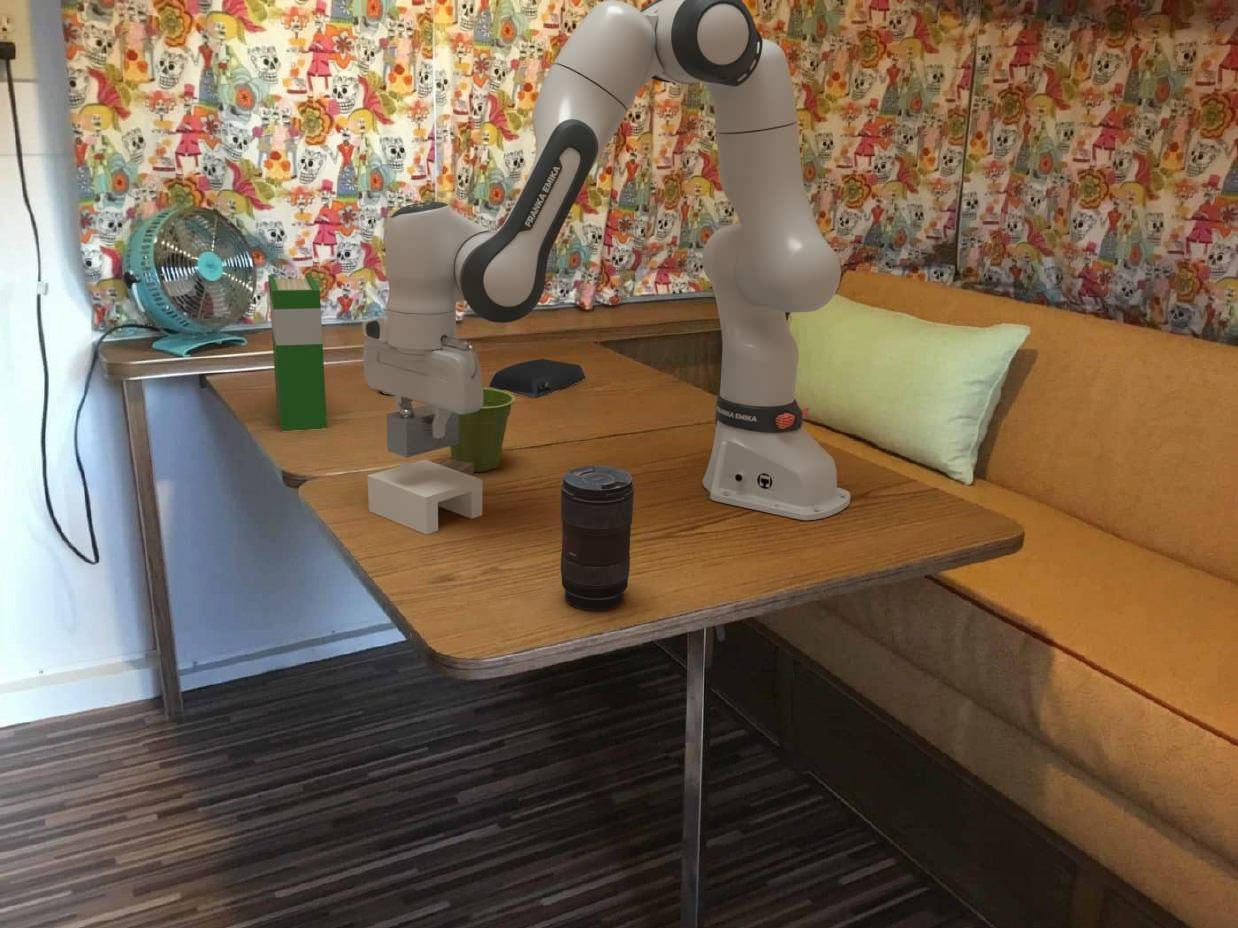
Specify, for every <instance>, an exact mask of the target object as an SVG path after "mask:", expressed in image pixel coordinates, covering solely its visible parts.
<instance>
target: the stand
mask: <svg viewBox="0 0 1238 928" xmlns="http://www.w3.org/2000/svg"><path fill="white" fill-rule="evenodd" d="M473 476H474V475H473ZM473 476H471V475H468V474H465V473H462V472H459V471H456V470H453V469H450V468H448V467H445V466H442V465H441V464H438V463H436V462H433V461H430V460H427V459H421V460H418V461H414V462H411V463H407V464H403V465H400V466H396V467H393V468H390V469H386V470H381V471H377V472H375V473H372V474H368V475H367V492H368V493H367V496H368V511H369V512H371V513H373V514H376V515H378V516H380V517H382V518H385V519H388V520H390V521H392V522H395V523H397V524H400V525H401V526H404V527H406V528H410V529H412V530H414V531H417V532H419V533H421V534H424V535H430V534H433V533H435V532H438V531H439V507H440V508H442V509H444V510H448V511H450V512H453V513H456V514H458V515H460V516H463V517H466V518H469V519H476V518H479V517H481V516H483V479H482V478H478V477H476V476H474V477H473Z"/></svg>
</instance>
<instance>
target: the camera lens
mask: <svg viewBox="0 0 1238 928" xmlns="http://www.w3.org/2000/svg"><path fill="white" fill-rule="evenodd" d="M562 480H563V481H562V483H561V489H560V516H561V518H560V520H561V523H562V524H561V525H562V526H561V528H562V529H561V530H562V533H561V553H560V575H561V586H562V587H563V589H564V596H565V597H564V598H565V600H566V601H567V603H568V604H570V605H571V606H573V607H575V608H579V609H582V610H587V611H606V610H611V609H613V608H616V607H618V606H620V605H621V604H622V602H623V601H624V593H625V591H626V590H627V588H628V584H629V582H628V581H629V576H630V567H631V566H630V564H631V554H630V552H631V551H630V550H631V549H630V548H631V532H632V531H631V527H632V523H633V517H634V516H633V514H634V511H633V510H634V494H635V493H634V492H635V488H634V484H633V478H632V475H631V474H630V473H629V472H627V471H625V470H624V469H622V468H618V467H614V466H607V465H587V466H586V465H585V466H579V467H575V468H573V469H571V470H568V471H567V472H565V473H564V475H563V479H562Z"/></svg>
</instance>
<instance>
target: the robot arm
mask: <svg viewBox="0 0 1238 928" xmlns="http://www.w3.org/2000/svg"><path fill="white" fill-rule="evenodd" d="M787 59H788V58H787V56H786V54H785V52H784V49H783V48H782V47H781V46H780V45H779V44H778V43H776V42H774V41H772V40H770V39H767V38H763V37H762V35H761V34H760V32H759V31H758V28H756V23H755V20H754V18H753V15H752V14H751V12H750V10H749V8H748V6H747V5H746V4H745V3H744V2H743V1H742V0H655V1H653V2H651V3H650V4H648V5H646V6H645V7H644V8H641V9H638V8H636V7H635V5H634V6H633V5H631V4H630V3H627V2H625V1H621V0H603V1H600V2H599V3H597V4H596V5H595V6H593V7H592V8H591V9H590V11H589V12H588V13H587V15H585V16H584V17H583V19H582V20H581V22H579V24H578V25H577V26H576V28H575V29H574V30H573V32H572V33H571V35H570V36H569V38H568V39H567V40H566V42H565V43H564V45H563V47H562V48H561V49H560V51H559V53H558V55H557V56H556V58H555V60H554V62H553V63H552V65H551V67H550V68H549V70H548V72H547V74H546V76H545V78H544V80H543V82H542V84H541V86H540V90H539V91H538V92H539V93H538V95H537V97H536V100H535V103H534V107H533V110H532V112H531V121H532V128H533V131H534V136H535V137H534V138H535V156H534V159H533V163H532V167H531V169H530V171H529V175H528V176H527V178H526V180H525V182H524V184H523V186H522V188H521V190H520V191H519V194H518V196H517V198H516V200H515V201H514V204H513V205H512V208H511V209H510V211H509V213H508V215H507V217H506V219H505V221H504V223H503V224H502V226H501V227H500V228H499V229H498V230H496V229H493V228H489V227H487V226H484V225H482V224H480V223H477V222H475V221H473V220H471V219H470V218H468V217H466V216H464V215H462V214H460V213H459V212H457V210H455V209H454V208H452V207H451V205H450V204H449V203H446V202H442V201H431V202H429V201H425V202H419V203H413V204H409V205H406V206H402V207H400V208H398V209H397V210H395V211H394V213H392V215H391V216H390V218H389V220H388V223H387V229H386V237H385V261H384V262H385V277H386V279H387V283H388V290H389V291H388V296H387V297H388V298H387V300H386V301H387V302H386V314H387V315H386V314H384V315H385V316H382V317H374V318H371V319H370V318H369V319H366V320H364V321H363V322H362V323H361V324H362V325H361V330H362V335H363V336H364V337H365V338H366V339H365V340H364V341H363V342H364V343H363V349H362V350H363V351H362V353H363V355H362V356H363V359H362V360H363V375H364V376H363V377H364V379H365V382H366V383H367V385H368V387H369V388H371V389H375V390H377V391H380V390H381V391H384V392H388V393H391V394H394V395H393V396H394V404H395V405H396V408H397V410H398V411H397V412H400V408H414V407H413V405H412V402H413V401H415V402H417V403H421V404H424V405H431V406H432V413H433V414H436V415H435V417H434V420H433V423H430V424H428V430H429V431H428V435H429V436H431V437H434V438H441V437H444V435H445V424H446V422H447V420H448V419H449V417H450V415H451V413H452V412H454V413H457V414H461V415H464V414H469V413H473V412H476V411H479V410H480V408H481V407H482V405H483V401H484V399H483V388H484V387H483V385H484V384H483V374H482V369H481V363H480V361H479V354H478V352H477V351H476V350H475V348H474V347H473V346H472V344H471V342H469V341H467V340H465V339H464V340H463V339H461V340H460V339H457V322H456V321H457V303H458V302H461V301H463V302H466V304H467V305H468V306H469V308H470V309H471V310H472V312H474V313H475V314H476V315H477V316H479V317H480V318H482V319H484V320H485V321H488V322H492V323H498V324H505V323H506V324H508V323H512V322H516V321H518V320H521V319H523V318H524V317H526V316H527V315H529V314H530V313H531V312H532V311H533V310H534V309H535V308H536V306H537V305H538V303H539V302H540V301H541V298H542V295H543V294H544V289H545V285H546V284H545V283H546V277H547V275H546V274H547V267H548V261H549V257H550V253H551V251H552V249H553V246H554V244H555V242H556V239H557V238H558V235H559V234H560V231H561V229H562V227H563V226H564V224H565V222H566V220H567V217H568V216H569V214H570V211H571V210H572V208H573V206H574V204H575V202H576V200H577V197H578V196H579V194H580V192H581V191H582V188H583V186H584V184H585V182H586V180H587V177H588V176H589V174H590V172H591V171H592V170H593V168H594V166H595V165H596V163H597V161H598V159H599V158H600V156H601V155H602V153H603V151H604V150H605V149H606V148H607V146H608V144H609V143H610V142H611V140H612V139H613V137H614V135H615V134H616V132H617V131H618V129H619V128H620V126H621V124H622V122H623V121H624V119H625V117H626V116H627V114H628V112H629V110H630V108H631V107H632V104H633V102H634V101H635V99H636V97H637V95H638V93H639V91H641V89H642V88H643V86H645V85H646V83H647V82H648V81H649V80H651V79H652V80H655V81H658V82H662V83H674V84H680V85H696V84H700V83H701V84H702V85H703V86H704V87H705V88H706V90H707V91H708V94H709V95H710V99H711V102H712V105H713V108H714V109H713V110H714V126H715V137H716V147H717V157H718V166H719V169H718V170H719V178H720V187H721V190H722V193H724V196H725V197H726V199H727V200H728V201H729V203H730V204H731V206H732V208H733V209H734V211H735V213H736V216H737V218H738V220H739V223H737V224H736V223H735V224H730V225H727V226H724V227H723V226H722V227H720V228H719V229H717V230H716V231H715V232H713V233H712V234H711V236H709V238H708V240H707V242H706V243H705V244H704V245H705V246H704V248H703V253H702V268H703V271H704V273H705V276H706V278H707V279H708V281H709V282H710V284H711V287H712V290H713V292H714V296H715V301H716V305H717V306H716V307H717V310H718V311H717V312H718V317H719V324H720V330H721V331H720V332H721V340H722V355H721V356H722V357H721V374H720V375H721V376H720V389H719V393H718V394H717V395H716V401H715V402H716V404H715V412H714V413H715V415H714V417H715V418H714V419H715V421H714V422H715V427H716V429H715V435H714V440H713V446H712V450H711V455H710V458H709V462H708V465H707V468H706V471H705V474H704V476H703V479H702V485H703V487H704V489H706V490H707V491H708V492H709V498H710V500H712V501H714V502H717V503H722V504H727V505H732V506H736V507H741V508H745V509H750V510H755V511H758V512H759V511H760V512H764V513H768V514H772V515H777V516H781V517H787V518H791V519H795V520H801V521H811V520H812V521H813V520H820V519H825V518H827V517H830V516H833V515H835V514H837V513H840V512H841V511H842V510H845V509H846V508H847V507H848V506H849V505H850V503H851V493H850V491H848V490H846V489H843V488H841V487H838V476H837V467H836V462H835V459H834V457H832V456H831V454H829V453H828V451H827V450H825V449H824V448H823V447H822V445H820V443H818V442H817V440H816V439H815V438H814V437H813V436H812V435H811V434H810V433H809V432H808V431H807V430H806V429H805V428H804V427H803V424H804V423H803V418H804V417H806V416H809V415H810V413H808V412H809V410H810V407H806V408H803V409H801V408H800V406H799V405H798V402H797V400H796V398H795V395H796V386H797V385H796V384H797V375H798V364H799V363H798V362H799V347H798V344H797V342H796V340H795V338H794V336H793V335H792V332H791V330H790V328H789V325H788V322H787V317H786V313H807V312H808V313H811V312H815V311H818V310H820V309H822V308H824V307H825V306H826V305H827V304H829V302H831V300H832V299H833V298H834V296H835V294H836V292H837V291H838V288H839V286H840V282H841V275H842V273H841V272H842V271H841V270H842V269H841V268H842V267H841V262H840V260H839V257H838V255H837V253H836V252H835V250H834V249H833V248H832V247H831V246H830V245H829V243H828V242H827V241H826V239H825V237H824V236H823V234H822V231H821V230H820V228H819V225H818V223H817V221H816V217H815V215H814V213H813V211H812V207H811V204H810V202H809V198H808V196H807V191H806V188H805V184H804V179H803V173H802V162H801V152H800V151H801V150H800V140H799V138H800V137H799V126H798V114H797V105H796V96H795V90H794V85H793V80H792V79H793V78H792V76H791V70H790V67H789V64H788V63H789V62H788V60H787ZM381 391H380V392H381Z"/></svg>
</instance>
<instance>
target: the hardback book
mask: <svg viewBox="0 0 1238 928" xmlns="http://www.w3.org/2000/svg"><path fill="white" fill-rule="evenodd" d="M305 277H306V278H275V275H274V274H267V278H268V290H269V291H268V293H269V307H270V308H269V309H270V320H271V321H270V324H271V325H270V326H271V335H272V340H271V341H272V350H273V351H272V353H273V366H274V369H273V370H274V380H275V395H276V408H277V407H278V408H277V414H278V413H279V414H278V418H280V419H279V424H280V423H281V425H280V428H281V429H282V430H281V432H282V431H291V430H292V431H293V430H308V429H309V430H310V429H322V428H327V429H328V422H327V402H326V400H327V399H326V386H325V385H326V381H325V368H324V367H325V364H324V344H323V342H324V341H323V326H322V310H321V309H322V307H321V306H322V304H321V290H320V288H319V286H318V284H317V282H316V280H315V278H314V277H313V274H312V273H311V274H305Z"/></svg>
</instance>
